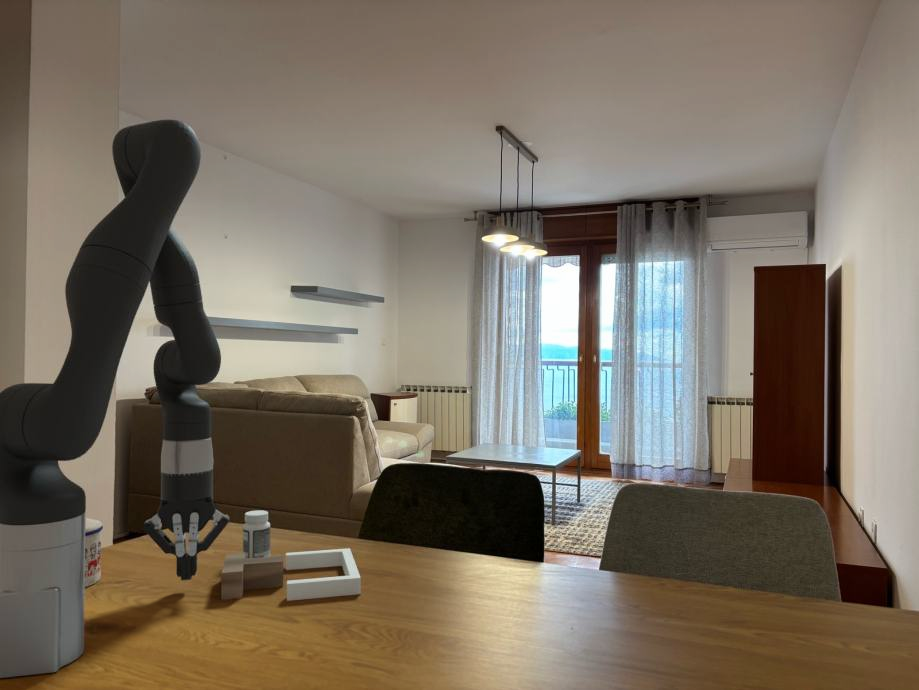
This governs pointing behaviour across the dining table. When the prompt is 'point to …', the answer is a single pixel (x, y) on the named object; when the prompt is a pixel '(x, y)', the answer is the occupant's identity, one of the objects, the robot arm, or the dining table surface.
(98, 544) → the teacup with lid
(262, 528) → the pill bottle
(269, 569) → the t block
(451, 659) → the dining table surface
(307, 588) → the pocket
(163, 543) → the robot arm
